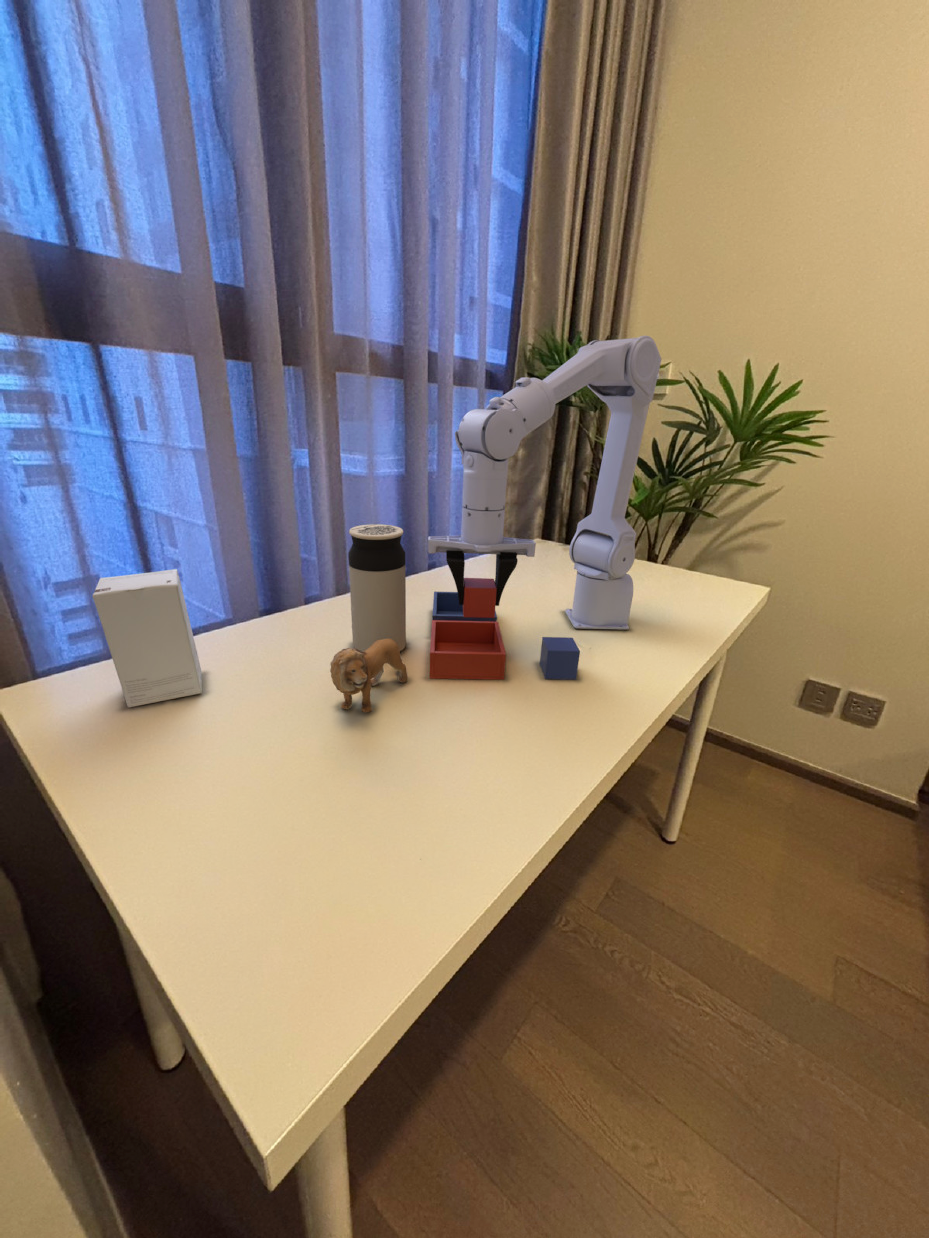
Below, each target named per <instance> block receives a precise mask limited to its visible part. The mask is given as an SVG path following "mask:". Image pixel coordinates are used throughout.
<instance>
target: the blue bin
mask: <svg viewBox="0 0 929 1238" xmlns="http://www.w3.org/2000/svg"><path fill="white" fill-rule="evenodd" d="M431 615H432V617H431V621H432V620H447V621H491V622H498V615H497V611H496V610H495V618H479V617H463V605H459V597H458V592H457V591H437V590H436V591H433V602H432V614H431Z"/></svg>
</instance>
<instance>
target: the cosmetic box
mask: <svg viewBox="0 0 929 1238" xmlns="http://www.w3.org/2000/svg"><path fill="white" fill-rule="evenodd" d="M92 599H93V602H94V605H95V609H96V611H97V614H98V617H99V621H100V623H101V627H102V630H103V634H104V636H105V637H104V638H105V641H106V644H107V646H108V649H109V653H110V656H111V658H112V662H113V665H114V668H115V671H116V674H117V678H118V681H119V684H120V687H121V691H122V693H123V697H124V699H125V703H126V705H127V706H126V707H127V708H134V707H138V706H143V705H149V704H153V703H158V702H163V701H168V700H173V699H179V698H183V697H190V696H194V695H200V694H202V692H203V691H202V689H203V688H202V687H203V686H202V685H203V683H202V682H203V681H202V679H203V678H202V667H201V663H200V659H199V658H200V657H199V655H198V650H197V646H196V642H195V637H194V634H193V630H192V625H191V621H190V617H189V612H188V608H187V604H186V599H185V595H184V591H183V586H182V583H181V579H180V574H179V571H178V569H177V568H174V569H167V570H166V569H165V570H158V571H150V572H142V573H134V574H125V575H117V576H116V575H115V576H107V577H100V578H99V580H98V583H97V585H96V587H95V589H94V592H93V594H92Z"/></svg>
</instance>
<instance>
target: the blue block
mask: <svg viewBox="0 0 929 1238" xmlns="http://www.w3.org/2000/svg"><path fill="white" fill-rule="evenodd" d="M539 655H540V656H539V666H540V670H541V672H542V675H543V677H544V679H545V680H577V676H578V670H579V664H580V663H579V662H580V656H581V650H580V649H579V647H578V644H577V642H576V641H575V639H574V637H564V636H562V637H561V636H542V637H541V647H540V654H539Z"/></svg>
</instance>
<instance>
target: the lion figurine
mask: <svg viewBox="0 0 929 1238" xmlns="http://www.w3.org/2000/svg"><path fill="white" fill-rule="evenodd" d="M329 664H330V669H329V672H330V677H331V681H332V684H333V685H334V686H335V688H336V690H337V691H339V692H340V693H341V694H342V695H343V698H344V701H342V702H341V705H340V707H341V709H342V710H349V709H350V708H351V707H352V706H353V696H354V695H357V694H359V693H360V692H361V698H362V699H361V708H360V709H361V712H362V713H370V712H372V710H373V709H372V702H371V693H372V692H371V691H372V687H374V686H377V685H378V684H379V683H380V681H381V678H382V676H383V675H384V672H385V671H384V666H385V665H386V664H387V665H389V666H391V667H392V668H393V669H394V670H395V671H399V672H400V675H399V676H398V677H397V681H398V682H399V683H406V682H407V681H408V674H407V666H406V664H405V663H404V662H403V660H402V657H401V651H399V647H398V645H397V643H396V642H395V641H394V640H392V639H382V640H377V641H376V642H374V643H373V644H372V645H371V646H370V647H369V648H368V649H367V650H365V651H364V652H361V651H360V650H358V649H354V647H353V648H352V647H347V648H342V649H341V650H340V651H339V650H338V652H337V653H336V654H334V656H333V658H332V660H331V661H330V663H329Z"/></svg>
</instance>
